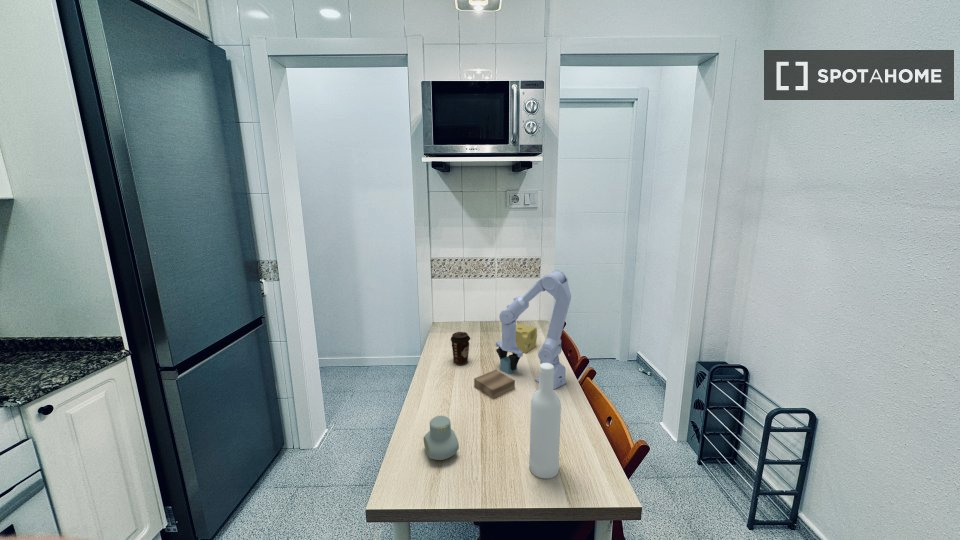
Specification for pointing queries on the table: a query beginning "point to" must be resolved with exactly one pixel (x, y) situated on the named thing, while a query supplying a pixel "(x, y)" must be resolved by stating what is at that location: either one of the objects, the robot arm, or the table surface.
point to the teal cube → (506, 365)
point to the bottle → (545, 426)
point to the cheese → (525, 337)
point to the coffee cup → (460, 347)
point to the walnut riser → (494, 384)
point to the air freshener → (440, 439)
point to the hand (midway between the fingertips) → (508, 367)
